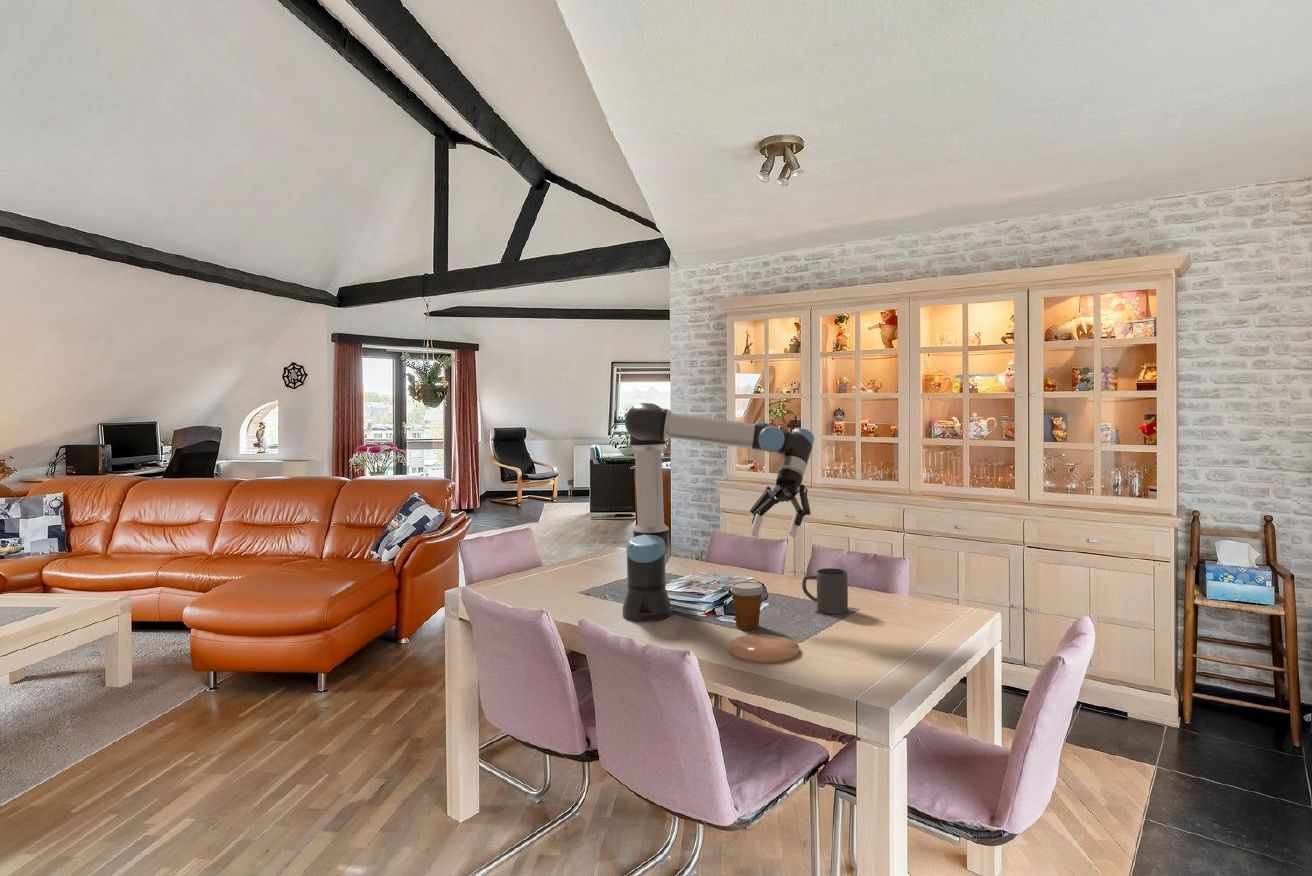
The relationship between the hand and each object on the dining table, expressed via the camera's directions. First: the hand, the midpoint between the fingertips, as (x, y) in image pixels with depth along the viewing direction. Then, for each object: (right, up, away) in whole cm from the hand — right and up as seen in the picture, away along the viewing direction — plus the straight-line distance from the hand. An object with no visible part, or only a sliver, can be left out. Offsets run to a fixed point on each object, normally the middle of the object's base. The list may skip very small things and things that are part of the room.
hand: (771, 534), depth 199 cm
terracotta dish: (-6, -26, -25) cm, 37 cm away
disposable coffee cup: (-8, -26, -5) cm, 27 cm away
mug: (+18, -25, +10) cm, 32 cm away
